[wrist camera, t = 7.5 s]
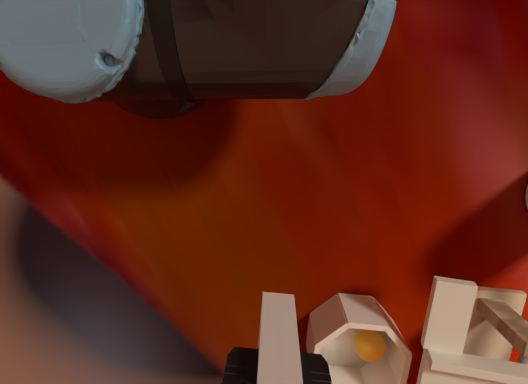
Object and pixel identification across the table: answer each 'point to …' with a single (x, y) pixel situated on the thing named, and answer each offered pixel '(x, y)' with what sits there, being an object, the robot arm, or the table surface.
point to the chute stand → (497, 324)
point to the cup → (343, 335)
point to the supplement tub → (526, 197)
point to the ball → (370, 345)
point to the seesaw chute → (459, 341)
